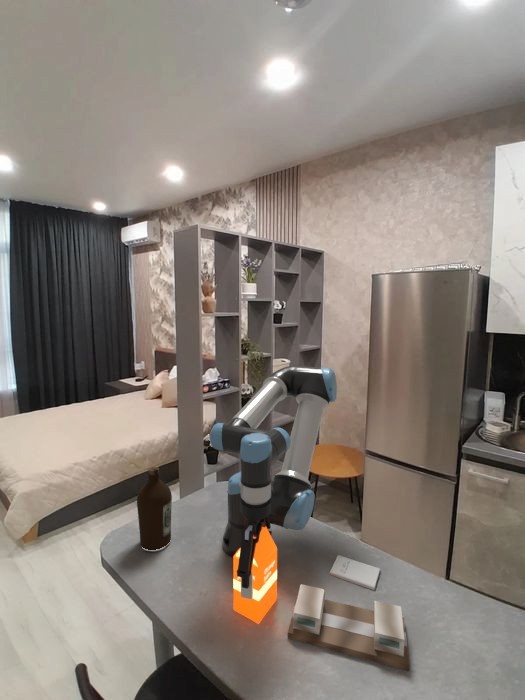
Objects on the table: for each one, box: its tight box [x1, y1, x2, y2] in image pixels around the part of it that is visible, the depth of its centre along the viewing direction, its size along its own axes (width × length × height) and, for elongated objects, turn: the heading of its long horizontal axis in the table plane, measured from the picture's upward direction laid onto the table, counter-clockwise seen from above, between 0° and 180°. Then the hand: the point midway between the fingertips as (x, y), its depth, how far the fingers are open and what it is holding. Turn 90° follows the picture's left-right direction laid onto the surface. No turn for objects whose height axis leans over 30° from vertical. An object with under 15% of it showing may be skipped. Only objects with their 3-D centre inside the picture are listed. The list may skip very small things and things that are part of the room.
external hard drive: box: [329, 554, 381, 591], centre depth 104 cm, size 2×8×12 cm
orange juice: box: [232, 527, 278, 625], centre depth 92 cm, size 8×9×20 cm
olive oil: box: [136, 466, 173, 550], centre depth 115 cm, size 11×11×25 cm
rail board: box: [287, 584, 410, 671], centre depth 85 cm, size 26×12×6 cm, turn 74°
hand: (255, 576), depth 92 cm, fingers open, 13 cm apart
